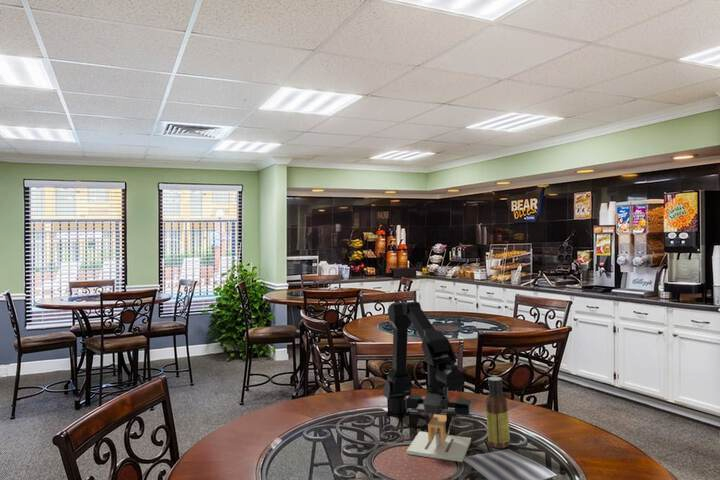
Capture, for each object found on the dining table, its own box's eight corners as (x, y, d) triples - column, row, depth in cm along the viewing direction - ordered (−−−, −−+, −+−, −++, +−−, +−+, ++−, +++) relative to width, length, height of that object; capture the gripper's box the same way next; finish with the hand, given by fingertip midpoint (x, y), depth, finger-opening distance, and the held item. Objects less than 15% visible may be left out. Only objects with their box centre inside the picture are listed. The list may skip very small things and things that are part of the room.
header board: (406, 453, 146) (406, 436, 146) (419, 434, 159) (419, 418, 159) (462, 462, 140) (461, 444, 140) (471, 441, 153) (470, 424, 153)
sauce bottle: (510, 441, 152) (508, 375, 151) (509, 450, 146) (507, 382, 145) (487, 439, 154) (486, 374, 153) (486, 448, 148) (484, 380, 147)
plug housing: (443, 443, 145) (443, 425, 145) (428, 441, 147) (428, 424, 146) (449, 432, 152) (448, 415, 152) (434, 430, 154) (434, 414, 154)
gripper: (398, 385, 145) (400, 439, 145) (464, 392, 138) (466, 448, 138) (409, 374, 155) (411, 424, 156) (471, 379, 148) (472, 432, 149)
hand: (439, 432), depth 149 cm, fingers closed on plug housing, 4 cm apart
